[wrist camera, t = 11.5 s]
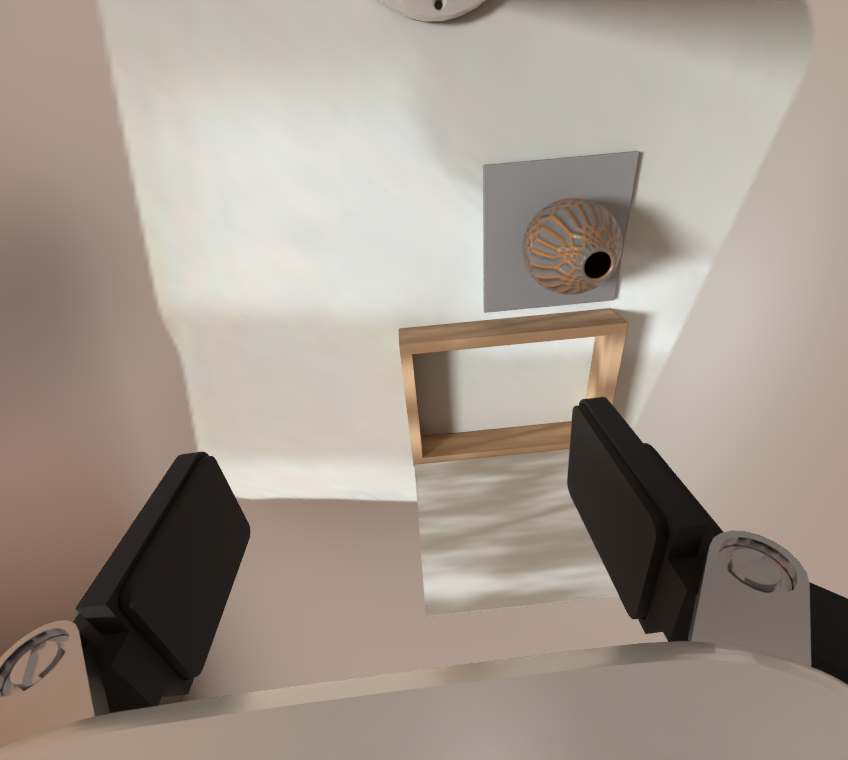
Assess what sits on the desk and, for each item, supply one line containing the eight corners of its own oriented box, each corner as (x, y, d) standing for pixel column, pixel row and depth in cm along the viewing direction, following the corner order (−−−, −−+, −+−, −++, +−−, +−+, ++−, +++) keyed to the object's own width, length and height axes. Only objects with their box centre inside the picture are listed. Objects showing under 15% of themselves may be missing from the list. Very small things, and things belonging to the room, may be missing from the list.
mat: (483, 165, 32) (484, 165, 32) (635, 151, 32) (639, 151, 32) (483, 310, 38) (484, 312, 38) (611, 298, 38) (614, 300, 38)
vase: (610, 209, 34) (672, 230, 26) (569, 287, 37) (614, 326, 29) (536, 180, 32) (579, 193, 25) (500, 264, 36) (528, 298, 28)
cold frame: (398, 328, 39) (402, 447, 24) (610, 308, 39) (741, 413, 24) (416, 478, 48) (426, 628, 34) (584, 461, 49) (667, 602, 34)
